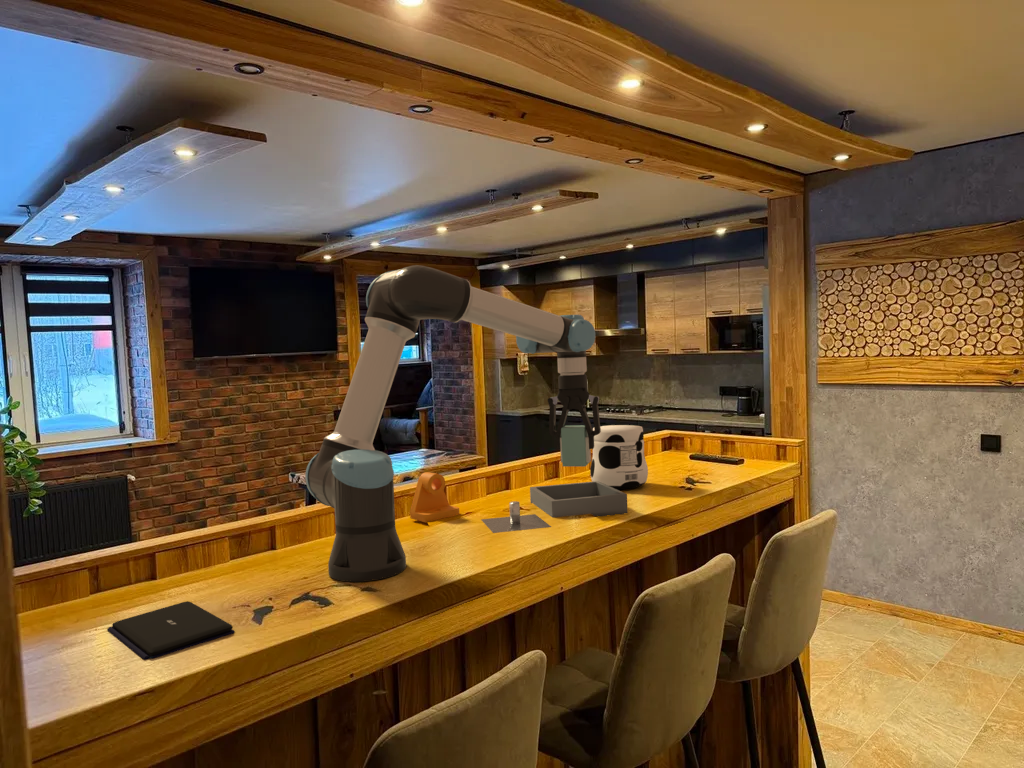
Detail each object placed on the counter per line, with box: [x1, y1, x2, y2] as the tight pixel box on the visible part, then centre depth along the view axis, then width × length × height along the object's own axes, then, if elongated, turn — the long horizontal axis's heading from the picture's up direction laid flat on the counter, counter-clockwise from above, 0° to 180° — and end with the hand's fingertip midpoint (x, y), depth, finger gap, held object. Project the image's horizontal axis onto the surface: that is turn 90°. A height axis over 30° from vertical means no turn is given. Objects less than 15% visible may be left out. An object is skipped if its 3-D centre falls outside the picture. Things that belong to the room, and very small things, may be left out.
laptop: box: [106, 601, 236, 661], centre depth 114 cm, size 16×20×2 cm
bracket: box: [409, 471, 460, 523], centre depth 183 cm, size 11×7×12 cm, turn 130°
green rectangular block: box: [561, 424, 590, 467], centre depth 188 cm, size 6×6×10 cm
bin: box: [529, 481, 629, 518], centre depth 188 cm, size 20×20×5 cm
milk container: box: [589, 424, 649, 490], centre depth 217 cm, size 17×17×18 cm
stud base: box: [480, 500, 552, 534], centre depth 172 cm, size 14×14×6 cm
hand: (576, 461), depth 188 cm, fingers closed on green rectangular block, 6 cm apart
